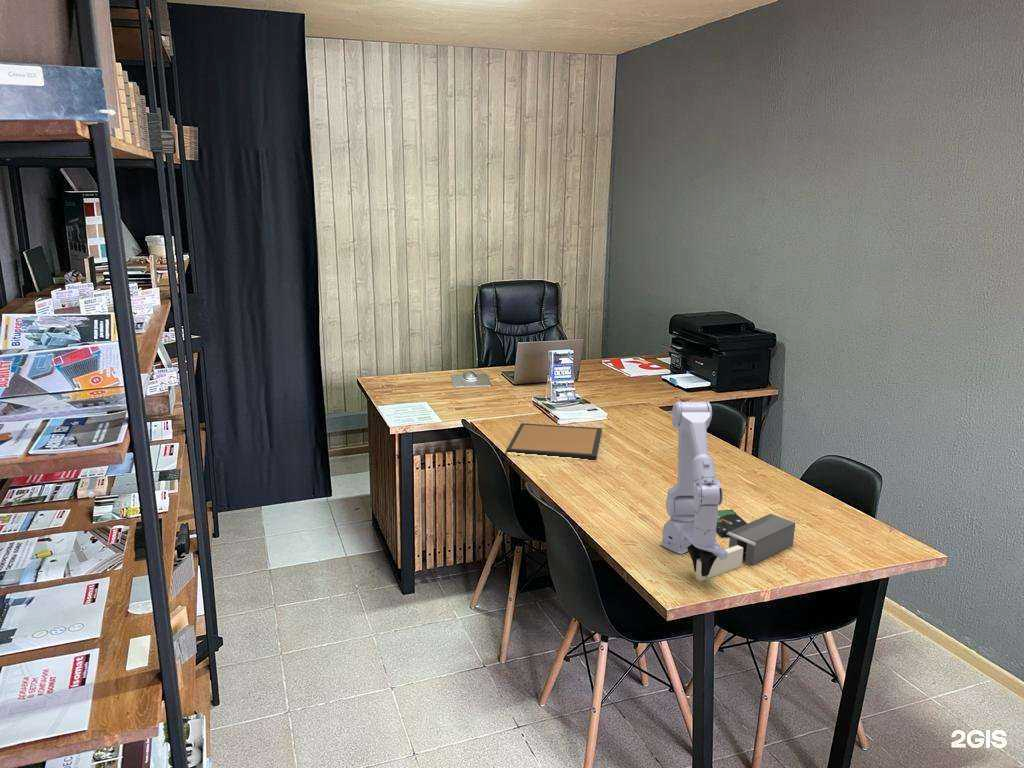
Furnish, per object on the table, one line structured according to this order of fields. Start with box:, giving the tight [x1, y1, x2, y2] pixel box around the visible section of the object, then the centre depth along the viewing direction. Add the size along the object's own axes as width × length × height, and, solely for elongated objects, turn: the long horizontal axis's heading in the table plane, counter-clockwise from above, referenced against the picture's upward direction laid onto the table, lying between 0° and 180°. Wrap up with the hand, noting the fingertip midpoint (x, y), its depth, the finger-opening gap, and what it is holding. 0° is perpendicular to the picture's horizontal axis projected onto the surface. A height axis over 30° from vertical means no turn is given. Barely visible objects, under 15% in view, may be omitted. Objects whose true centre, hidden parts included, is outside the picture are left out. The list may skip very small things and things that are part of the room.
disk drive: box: [716, 509, 748, 539], centre depth 233 cm, size 10×3×15 cm
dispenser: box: [728, 513, 796, 566], centre depth 217 cm, size 21×9×7 cm, turn 128°
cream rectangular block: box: [694, 545, 744, 582], centre depth 205 cm, size 16×2×6 cm, turn 123°
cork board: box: [505, 422, 603, 461], centre depth 308 cm, size 36×3×35 cm
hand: (701, 573), depth 201 cm, fingers closed on cream rectangular block, 2 cm apart
